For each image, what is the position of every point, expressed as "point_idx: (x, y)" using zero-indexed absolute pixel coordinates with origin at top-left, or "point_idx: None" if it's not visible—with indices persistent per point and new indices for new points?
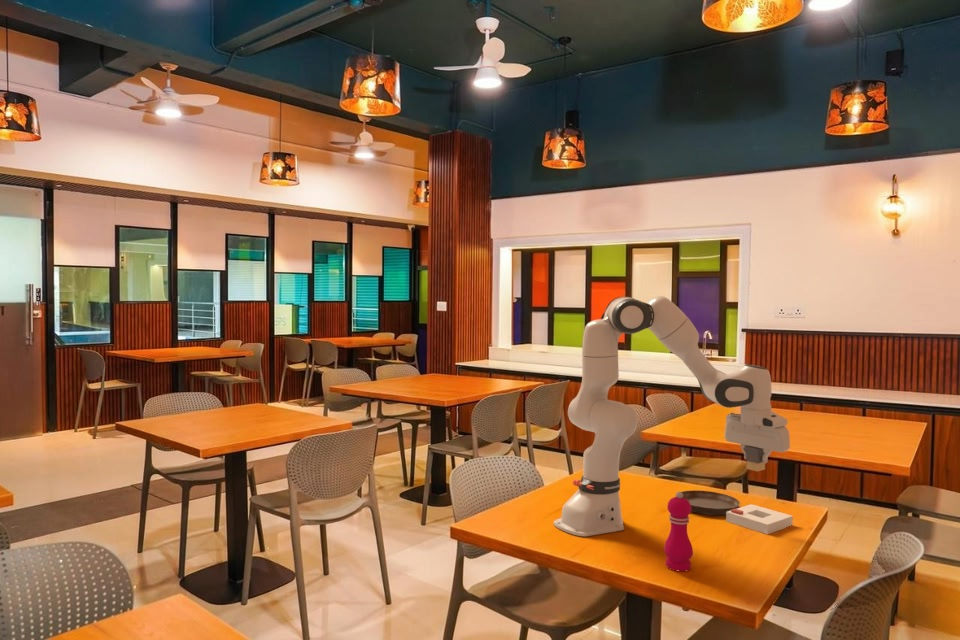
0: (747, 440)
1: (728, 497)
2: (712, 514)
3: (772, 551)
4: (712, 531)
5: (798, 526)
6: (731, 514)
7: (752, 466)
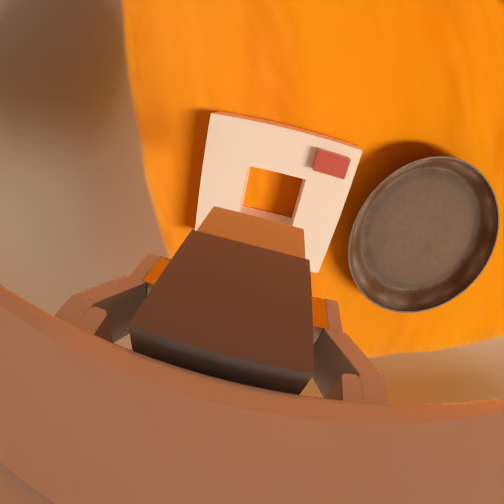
0: (291, 461)
1: (384, 303)
2: (402, 175)
3: (165, 10)
4: (352, 33)
5: (189, 232)
6: (343, 143)
7: (252, 228)
